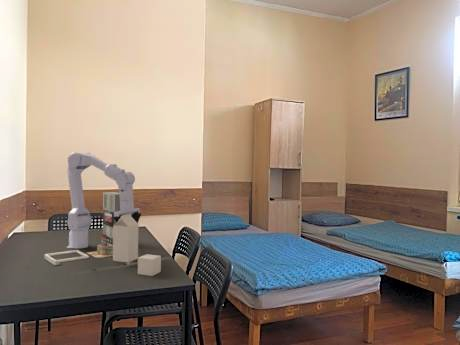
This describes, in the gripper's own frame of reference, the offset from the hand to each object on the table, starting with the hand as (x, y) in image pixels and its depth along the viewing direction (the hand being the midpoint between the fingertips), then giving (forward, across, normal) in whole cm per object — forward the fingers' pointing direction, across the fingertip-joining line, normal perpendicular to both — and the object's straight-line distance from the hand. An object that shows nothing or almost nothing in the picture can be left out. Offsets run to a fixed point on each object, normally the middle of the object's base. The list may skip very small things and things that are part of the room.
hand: (128, 231), depth 166 cm
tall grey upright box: (+9, +12, +21) cm, 26 cm away
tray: (+8, -19, +17) cm, 27 cm away
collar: (+8, -6, +8) cm, 13 cm away
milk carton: (+11, -10, -6) cm, 16 cm away
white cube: (+12, -18, -24) cm, 32 cm away
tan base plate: (+9, -6, +8) cm, 14 cm away
